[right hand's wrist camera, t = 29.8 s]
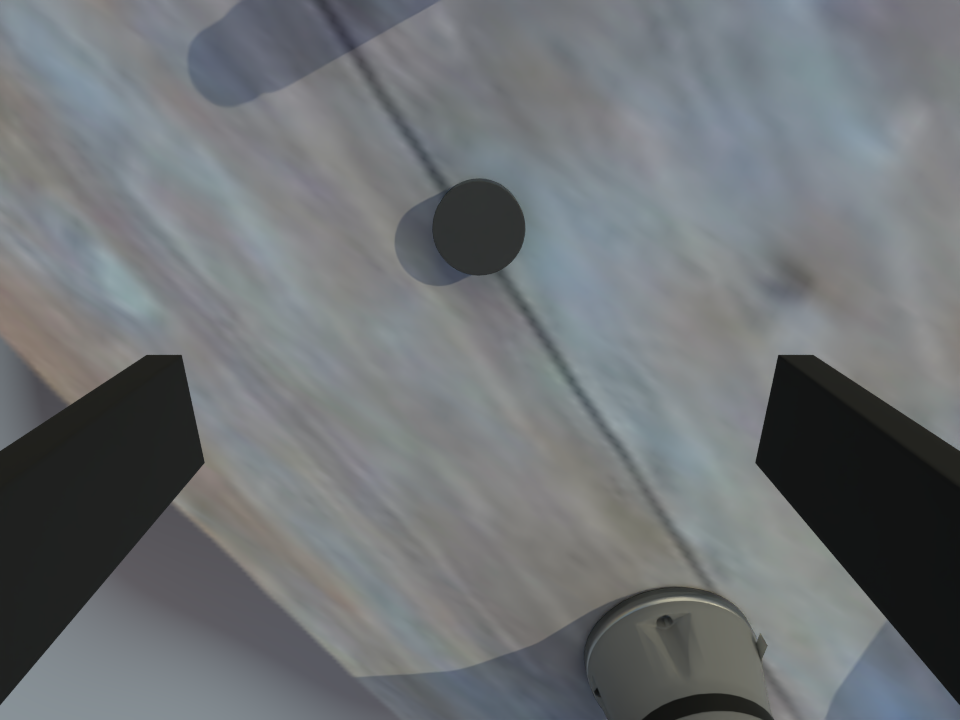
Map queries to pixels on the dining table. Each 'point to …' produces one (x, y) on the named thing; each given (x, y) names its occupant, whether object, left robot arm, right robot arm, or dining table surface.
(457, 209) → the lid
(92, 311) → the dining table surface
